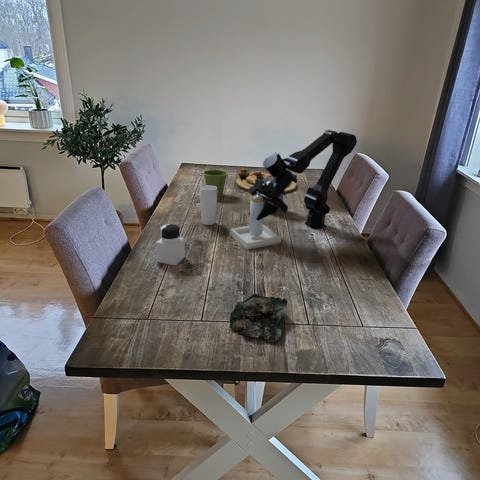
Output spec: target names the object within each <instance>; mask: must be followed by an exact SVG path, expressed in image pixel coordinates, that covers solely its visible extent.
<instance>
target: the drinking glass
mask: <svg viewBox="0 0 480 480" xmlns="http://www.w3.org/2000/svg"><path fill="white" fill-rule="evenodd" d="M199 202H200V204H199V205H200V212H201V213H200V214H201V224H203V225H204V226H212V225H214V224H215V223H216V214H217V213H216V211H217V203H218V197H217V187H216V186H212V185H206V184H205V185H201V186H200V187H199Z"/></svg>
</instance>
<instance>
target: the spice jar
mask: <svg viewBox="0 0 480 480" xmlns="http://www.w3.org/2000/svg"><path fill="white" fill-rule="evenodd" d="M263 206H264V200H263V196H260V195H254V196H252V195H251V199H250V204H249V211H250V216H249V225H248V226H249V234H250V235H252V236H260V235H262V224H263V222H264V221H263V220H264V218H263V219H261V220H259V221H258V220H257V219H256V218H257V217H258V215H259V214H260V212H261V211H262V209H263Z"/></svg>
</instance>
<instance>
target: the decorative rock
mask: <svg viewBox="0 0 480 480" xmlns="http://www.w3.org/2000/svg"><path fill="white" fill-rule="evenodd" d="M287 306H288V300H287V299H286V298H281V297H279V296H276V297H275V296H270V297H269V296H264V295H259V294H258V293H253V294H252V295H251V296H249V297H248V298H246V299H245V300H243V301H239V302H236V305H235V307H234V309H233V310H232V311H231V313H230V317H229V322H228V323H229V324H230V327H229V328H230V329H231V330H235V331H239V330H240V332H241V335H242V336H244V337H250V338H259V337H263V338H264V339H265V340H266V342H271V343H273V342H274V343H275V342H277V341H279V340H280V339H281V337H282V335H283V329H284V325H285V324H286V320H287V319H286V318H285V317H284V315H285V313H286V309H287V308H288V307H287ZM265 320H268V322H267V321H265Z"/></svg>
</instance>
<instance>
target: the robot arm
mask: <svg viewBox="0 0 480 480" xmlns="http://www.w3.org/2000/svg"><path fill="white" fill-rule="evenodd" d="M357 142H358V141H357V136H356V135H355V134H352V133H349V132H345V131H340V132H337V131H335V130H332V129H327V130H325V131H324V132H323V133H322V134H321V135H320V136H318V138H316V139H315V140H314V141H313V142H311V143H310V144H308V145H307V146H306V147H304V149H301V150H298V151H295V152H293V153H292V154H289V155H288V156H287V157H286V158H282V156H281V155H280V153H278V152H274V153H273V154H272V155H269V156H268V157H266V158H265V159H263V161H262V162H263V163H262V166H263V168H264V169H265V170H266V171H267V172H268V174H269V173H270V174H271V175H272V176H273V177H275V178H274V180H273V181H271V180H270V181H267V182H264V181H261V180H259V179H256V181H255V184H254V186H252V187H250V188H249V189H248V191H247V192H248V193H249V194H250V195H251V197H252V196H254V195H260V196H263V200H265V207H264V208H263V209H262V211H261V212H260V214H259V215H258V217H257V218H256V219H257V220H258V221H259V220H261V219H263V220H264V218H267V217H269V216H272V215H275V214H274V213H278V209H279V211H280V212H281V214H283V215H285V214H286V213H287V212H288V210H289V206H288V205H287V204H286V203H285V201H284V199H283V200H281V199H279V197H280V196H281V194H283V196H285V195H286V194H285V189H286V188H287V187H288V186H289V184H290V183H291V182H295V183H296V184H297V183H298V175H297V174H302V173H304V172H305V171H306V170H307V169H308V167H310V164H311V162H312V160H313V159H315V158H316V157H317V156H318V155H320V154H321V153H323V151H325V150H326V149H328V147H329V146H332V148H331V149H332V151H331V152H332V153H331V154H330V157H329V159H328V160H327V162H326V165H325V167H324V168H323V170H322V172H321V174H320V176H319V178H318V180H317V182H316V184H315V185H314V186H313V187H311V186H309V187H308V188H307V191H306V192H305V194H304V198H303V202H304V205H305V209H307V210H308V213H307V217H306V221H305V222H304V224H305V225H307V226H308V227H310V228H312V229H315V230H316V229H321V228H326V227H327V224H325V222H326V221H325V220H326V215H328V214H330V213H329V212H330V211H331V208H330V206H329V205H328V204H327V201H328V190H329V188H330V186H331V184H332V182H333V181H334V178H335V176H336V175H337V172H338V170H339V169H340V167H341V165H342V162H343V161H344V159H345V157H347V156H348V155H350V154H351V153H352V152H353V150H354V149H355V147H356V146H357ZM293 172H294V173H295V174H293ZM262 192H263V193H262ZM278 214H279V213H278ZM248 215H249V217H250V210H249V212H248Z"/></svg>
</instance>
